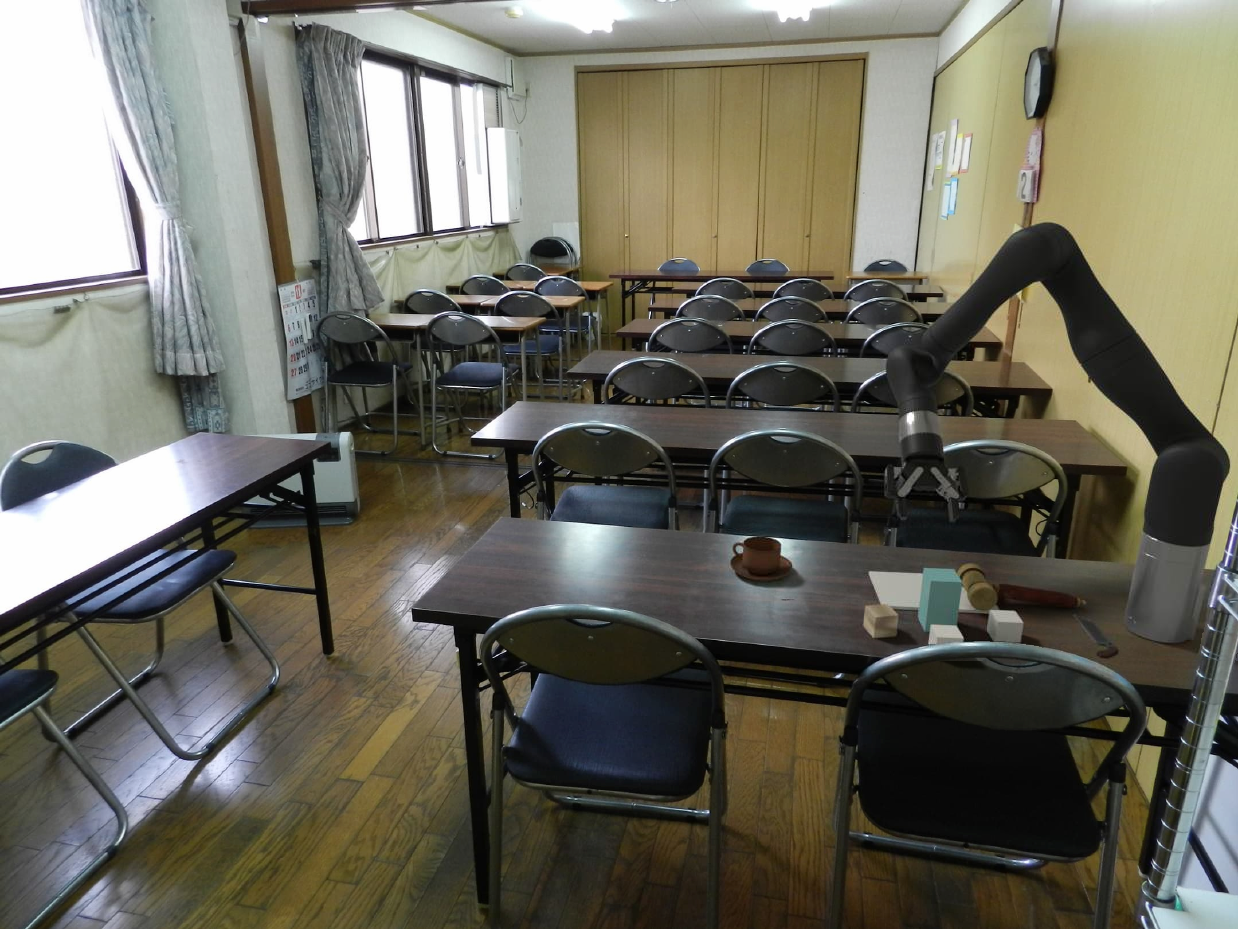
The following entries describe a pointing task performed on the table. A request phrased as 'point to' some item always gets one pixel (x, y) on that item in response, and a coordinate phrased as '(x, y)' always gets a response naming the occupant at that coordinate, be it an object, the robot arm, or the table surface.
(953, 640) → the white cube back
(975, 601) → the gavel
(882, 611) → the birch cube right
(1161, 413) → the robot arm
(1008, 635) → the grey cube left
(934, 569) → the teal block
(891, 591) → the white mat
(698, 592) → the table surface
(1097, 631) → the knife
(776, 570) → the cup and saucer
